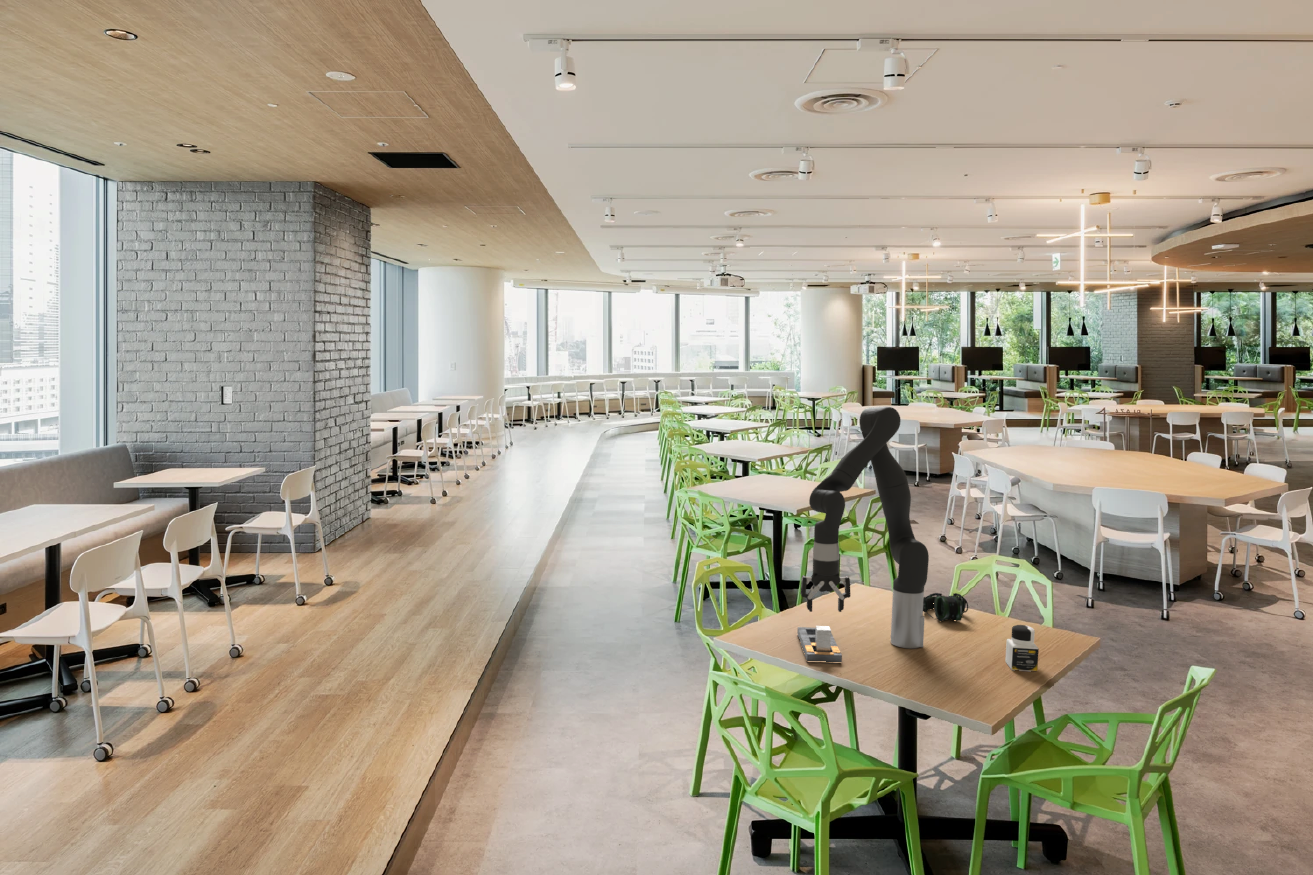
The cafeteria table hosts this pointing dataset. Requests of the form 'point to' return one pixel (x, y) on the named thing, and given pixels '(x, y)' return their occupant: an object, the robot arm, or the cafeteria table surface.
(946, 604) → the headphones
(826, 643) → the steel block
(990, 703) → the cafeteria table surface
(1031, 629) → the medicine bottle
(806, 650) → the slotted rack
